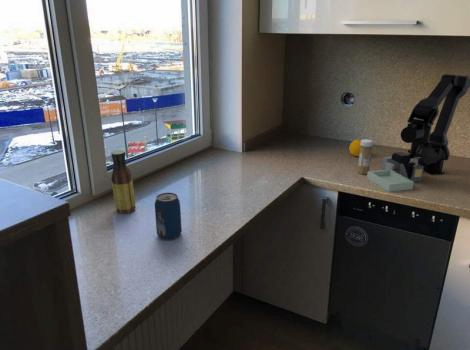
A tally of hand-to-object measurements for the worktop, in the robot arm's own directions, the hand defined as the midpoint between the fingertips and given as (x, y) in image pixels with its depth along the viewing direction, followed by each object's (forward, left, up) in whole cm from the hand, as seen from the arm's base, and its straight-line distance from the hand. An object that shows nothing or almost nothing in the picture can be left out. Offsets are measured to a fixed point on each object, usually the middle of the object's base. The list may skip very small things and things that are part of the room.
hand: (414, 177), depth 152 cm
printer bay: (0, -12, -1) cm, 12 cm away
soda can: (+95, +19, -1) cm, 97 cm away
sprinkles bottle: (+14, -13, -1) cm, 19 cm away
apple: (+4, -34, -2) cm, 34 cm away
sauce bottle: (+107, -1, -1) cm, 107 cm away
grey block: (0, -2, -1) cm, 3 cm away
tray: (+11, 0, -1) cm, 11 cm away
